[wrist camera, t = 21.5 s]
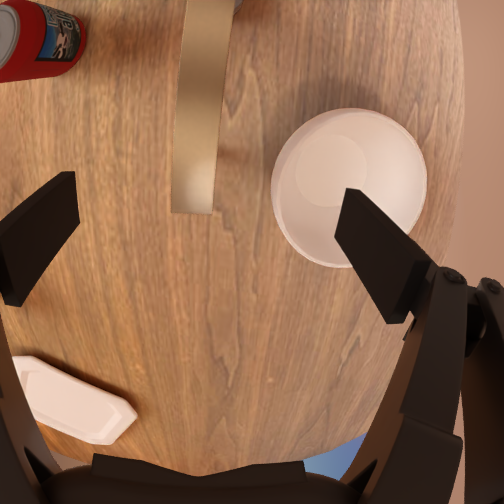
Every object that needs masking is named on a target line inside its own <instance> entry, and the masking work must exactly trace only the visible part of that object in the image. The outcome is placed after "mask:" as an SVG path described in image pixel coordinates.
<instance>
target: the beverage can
mask: <svg viewBox="0 0 504 504" xmlns="http://www.w3.org/2000/svg"><path fill="white" fill-rule="evenodd" d="M85 42H86V32H85V28H84V25H83V23H82V22H81V21H80V20H79V19H78V18H77V17H75V16H73V15H71V14H68V13H65V12H63V11H60V10H57V9H54V8H51V7H48V6H45V5H42V4H39V3H35V2H31V1H28V0H7V1H5V2H3V3H1V4H0V83H5V82H13V81H21V80H29V79H38V78H47V77H55V76H59V75H61V74H63V73H65V72H67V71H68V70H69V69H71V68H72V67H73V66H74V65H75V64H76V62H77V61H78V60H79V58H80V56H81V54H82V52H83V50H84V47H85Z"/></svg>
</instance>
